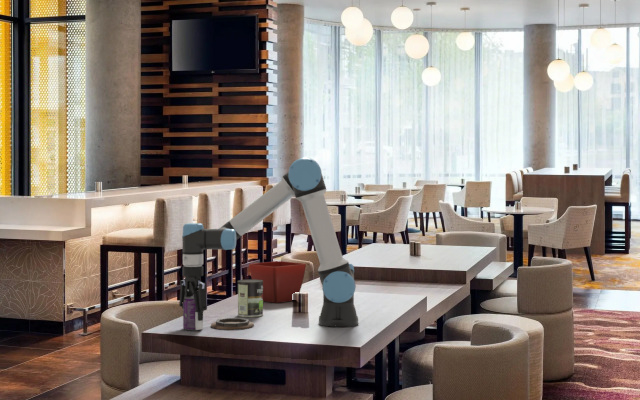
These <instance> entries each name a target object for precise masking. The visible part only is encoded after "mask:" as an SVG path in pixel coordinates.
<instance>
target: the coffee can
mask: <svg viewBox="0 0 640 400" xmlns="http://www.w3.org/2000/svg"><path fill="white" fill-rule="evenodd" d="M237 316H238V317H239V318H258V317H259V318H260V317H264V301H263V280H256V279H252V278H250V279H239V280H237Z"/></svg>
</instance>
